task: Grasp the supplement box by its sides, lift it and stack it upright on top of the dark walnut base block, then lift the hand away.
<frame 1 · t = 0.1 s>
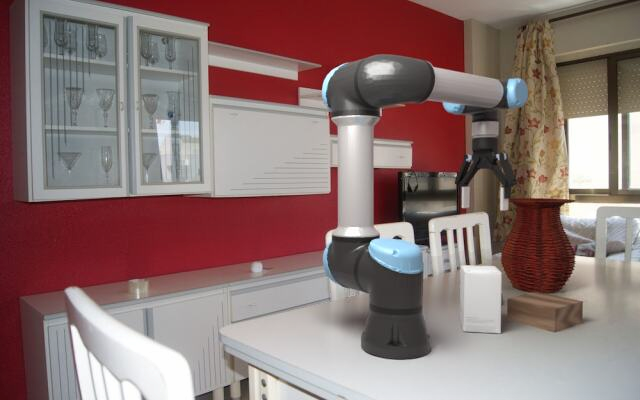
hand: (484, 209, 148), 28 cm above the table, fingers open, 13 cm apart
supplement box: (479, 328, 124), on the table
walnut base block: (544, 322, 129), on the table
vase: (536, 289, 167), on the table
stone block: (481, 304, 148), on the table
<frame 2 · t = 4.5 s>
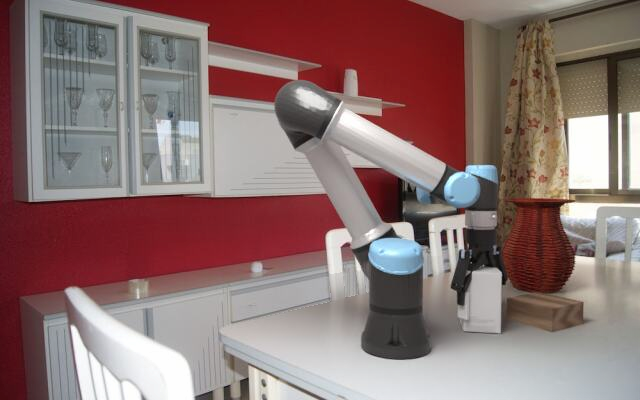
hand: (479, 313, 124), 3 cm above the table, fingers closed on supplement box, 12 cm apart
supplement box: (479, 328, 124), on the table, touching gripper
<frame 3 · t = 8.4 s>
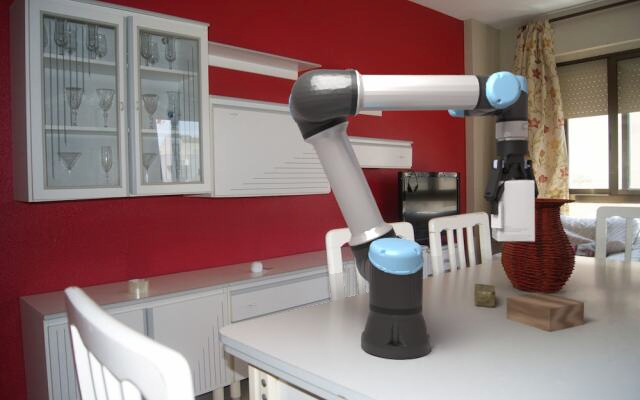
hand: (512, 225, 125), 25 cm above the table, fingers closed on supplement box, 12 cm apart
supplement box: (512, 240, 125), point 22 cm above the table, touching gripper
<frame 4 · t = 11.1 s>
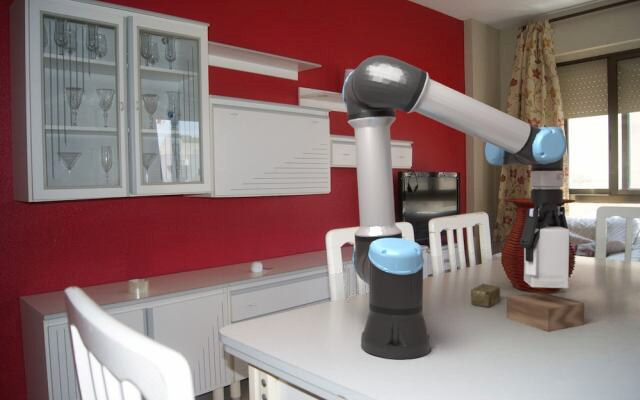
hand: (545, 271, 128), 13 cm above the table, fingers closed on supplement box, 12 cm apart
supplement box: (545, 285, 129), point 9 cm above the table, touching gripper
when the fingers open (11 cm above the table, at t = 12.7 s): supplement box drops 2 cm, resting on walnut base block.
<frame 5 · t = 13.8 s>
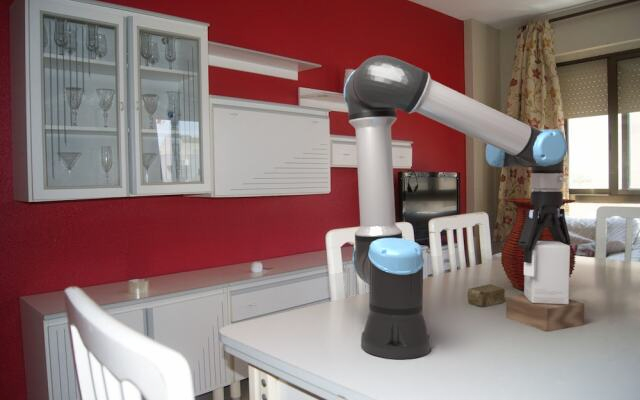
hand: (544, 272, 128), 13 cm above the table, fingers open, 13 cm apart
supplement box: (545, 300, 129), point 5 cm above the table, touching gripper, walnut base block
walnut base block: (544, 323, 129), on the table, touching supplement box
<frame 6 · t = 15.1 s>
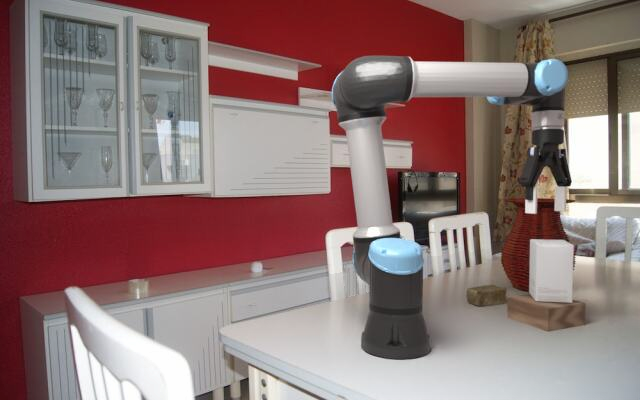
hand: (545, 212, 128), 28 cm above the table, fingers open, 13 cm apart
supplement box: (550, 298, 130), point 6 cm above the table, touching walnut base block
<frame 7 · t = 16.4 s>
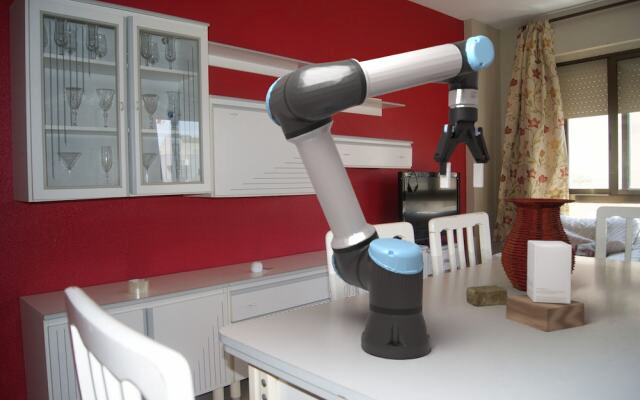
hand: (462, 187, 133), 35 cm above the table, fingers open, 13 cm apart
supplement box: (548, 300, 129), point 5 cm above the table, touching walnut base block
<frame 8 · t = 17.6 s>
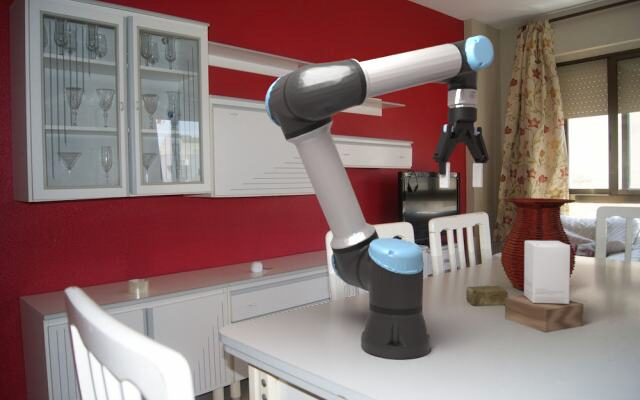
hand: (461, 187, 133), 35 cm above the table, fingers open, 13 cm apart
supplement box: (546, 300, 129), point 5 cm above the table
walnut base block: (542, 323, 128), on the table
at the end: supplement box inside the target area on the walnut base block (1.1 cm from its centre), point 5.9 cm above the walnut base block's base; supplement box tilted 1°; supplement box touching walnut base block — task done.
